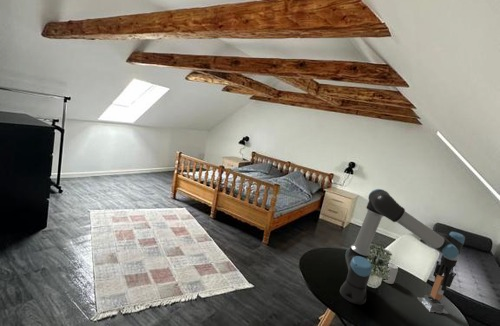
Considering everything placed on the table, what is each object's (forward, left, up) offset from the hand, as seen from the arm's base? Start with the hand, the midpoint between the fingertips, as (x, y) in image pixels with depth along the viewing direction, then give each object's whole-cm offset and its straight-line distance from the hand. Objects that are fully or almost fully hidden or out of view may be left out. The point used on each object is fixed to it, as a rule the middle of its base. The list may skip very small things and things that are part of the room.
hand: (437, 291), depth 172 cm
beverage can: (-18, +21, -11) cm, 30 cm away
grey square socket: (0, 0, -10) cm, 10 cm away
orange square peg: (0, 0, -4) cm, 4 cm away
